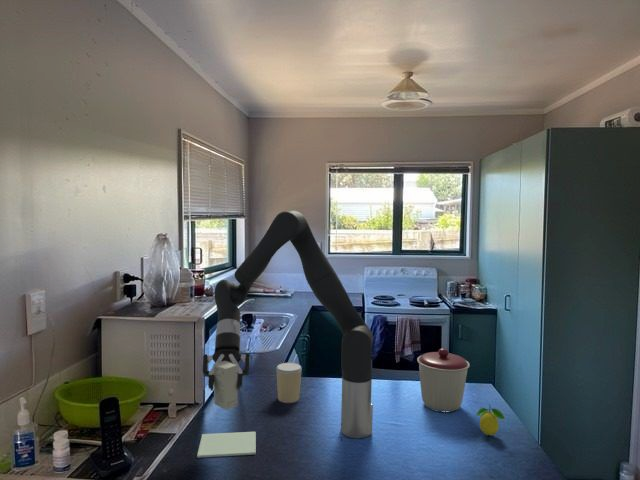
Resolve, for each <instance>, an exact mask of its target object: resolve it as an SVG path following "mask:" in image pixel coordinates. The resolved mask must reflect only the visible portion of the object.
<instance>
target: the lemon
mask: <svg viewBox="0 0 640 480" xmlns="http://www.w3.org/2000/svg"><path fill="white" fill-rule="evenodd" d="M476 416H480V419H479V429H480V431H482V433H484V434H485V435H486V436H488V435H490V436H493V435H496V434H497V432H498V431H499V425H500V424H499V419H500V420H506V418H505V416H504V414H503V413H502V411H501V410H499V409H498V408H492V407H491V404H489V409H487V408H484V407H482V408H480V409H479V410H478V411H477V413H476Z"/></svg>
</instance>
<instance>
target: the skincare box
mask: <svg viewBox="0 0 640 480" xmlns="http://www.w3.org/2000/svg"><path fill="white" fill-rule="evenodd" d="M213 366H214V388H213V394H214V397H213V399H214V402H213V403H214V405H215V406H217V407H219V408H221V409H223V410H225V411H227V410H230V409H232V408H235V407H237V406H238V405H239V402H238V401H239V399H238V397H239V396H238V395H239V394H238V390H237V377H238V374H237V365H235V364H233V363H231V362H228V361H222V362H218V363H215V362H214V363H213V365H212V367H213Z"/></svg>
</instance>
